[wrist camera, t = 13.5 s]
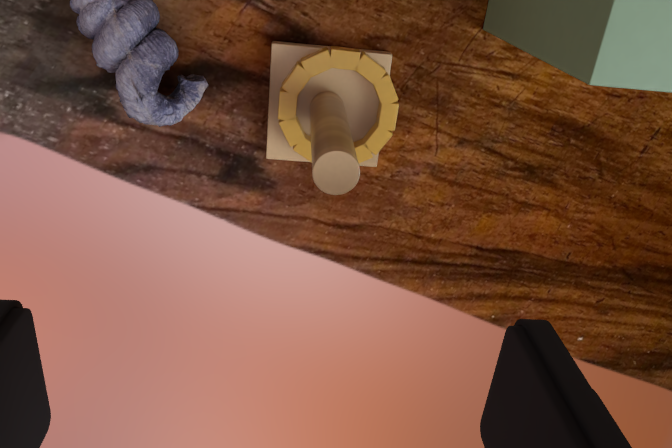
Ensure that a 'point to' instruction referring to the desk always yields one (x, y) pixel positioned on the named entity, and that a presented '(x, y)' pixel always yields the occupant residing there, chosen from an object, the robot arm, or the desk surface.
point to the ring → (347, 61)
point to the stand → (592, 38)
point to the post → (325, 116)
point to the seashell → (138, 58)
